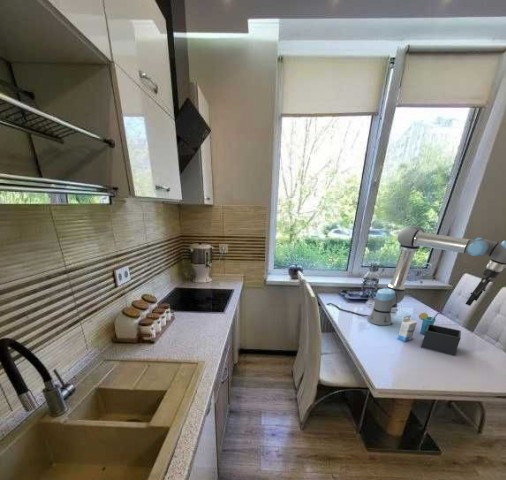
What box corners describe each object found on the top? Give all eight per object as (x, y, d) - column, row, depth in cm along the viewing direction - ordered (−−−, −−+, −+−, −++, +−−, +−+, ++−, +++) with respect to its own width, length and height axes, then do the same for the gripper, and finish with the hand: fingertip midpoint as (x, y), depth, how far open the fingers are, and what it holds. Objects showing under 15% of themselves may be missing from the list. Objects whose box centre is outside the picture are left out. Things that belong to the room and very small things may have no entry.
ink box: (405, 341, 169) (411, 319, 163) (397, 338, 173) (403, 317, 167) (412, 338, 174) (418, 317, 168) (404, 335, 178) (410, 314, 171)
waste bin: (420, 347, 163) (425, 330, 158) (423, 339, 173) (428, 323, 168) (454, 355, 154) (460, 338, 150) (455, 347, 164) (461, 330, 159)
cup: (434, 331, 185) (440, 310, 178) (440, 336, 178) (447, 314, 171) (412, 330, 186) (418, 309, 180) (417, 335, 179) (424, 313, 173)
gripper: (495, 275, 146) (471, 309, 158) (505, 268, 161) (483, 300, 173) (480, 270, 150) (458, 304, 162) (491, 263, 165) (470, 295, 177)
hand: (471, 302), depth 168 cm, fingers open, 13 cm apart
